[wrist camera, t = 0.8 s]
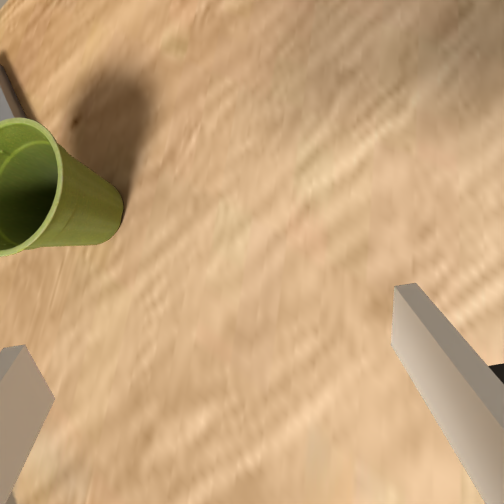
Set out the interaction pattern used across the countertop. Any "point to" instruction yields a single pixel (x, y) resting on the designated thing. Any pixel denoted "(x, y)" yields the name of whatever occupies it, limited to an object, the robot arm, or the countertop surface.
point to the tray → (8, 99)
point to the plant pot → (50, 193)
